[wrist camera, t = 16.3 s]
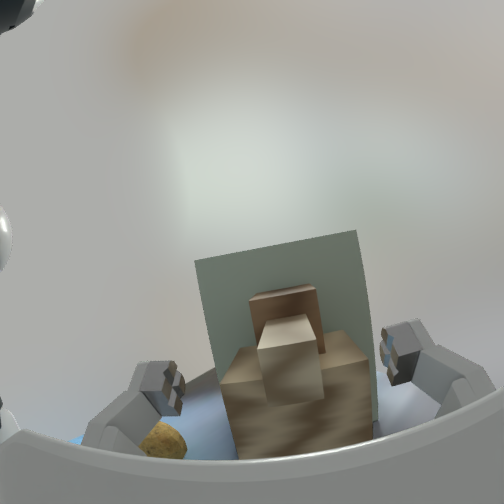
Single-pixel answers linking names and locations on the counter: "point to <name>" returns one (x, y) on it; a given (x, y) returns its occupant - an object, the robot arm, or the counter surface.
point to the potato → (164, 443)
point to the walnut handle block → (289, 344)
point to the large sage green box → (283, 276)
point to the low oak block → (300, 405)
